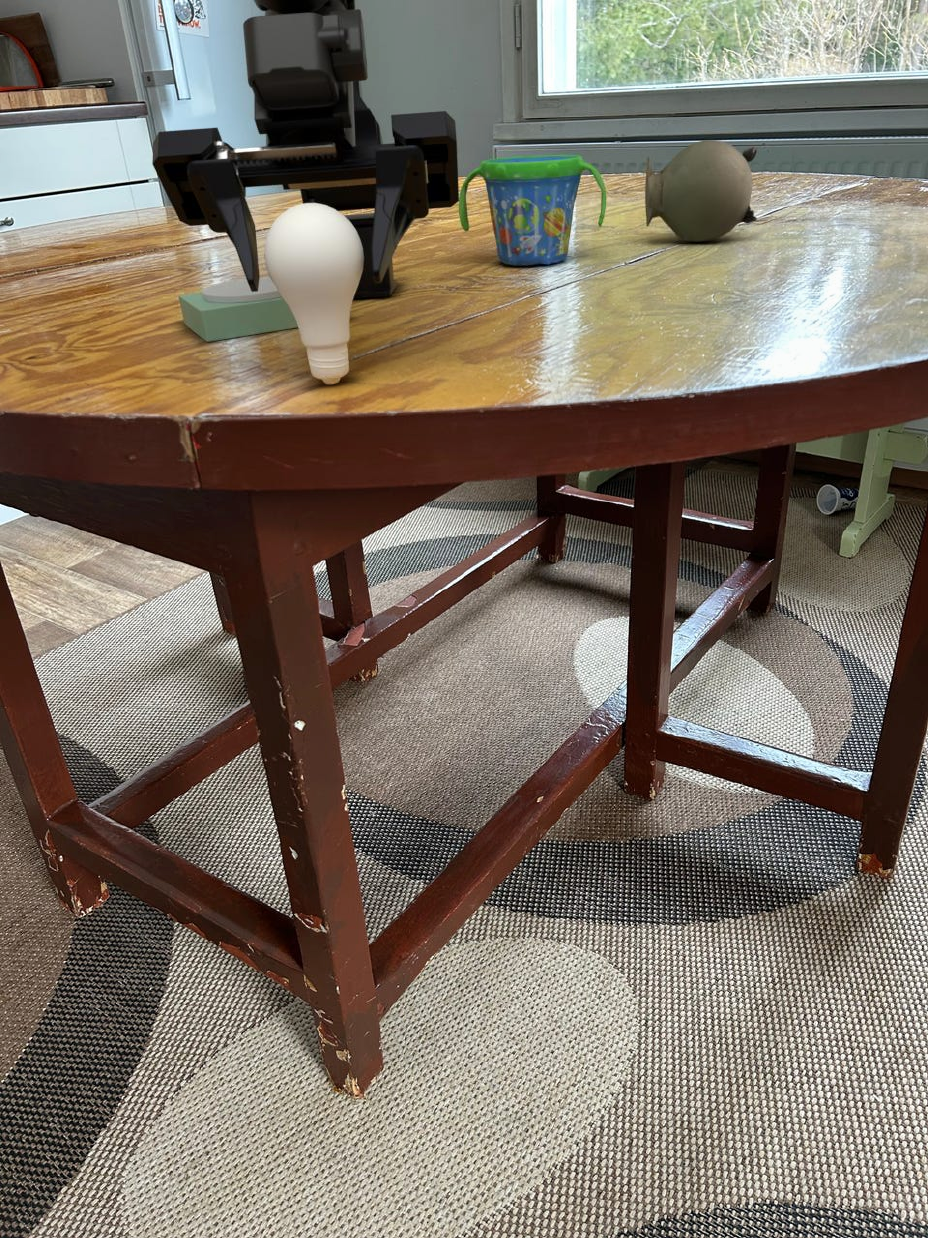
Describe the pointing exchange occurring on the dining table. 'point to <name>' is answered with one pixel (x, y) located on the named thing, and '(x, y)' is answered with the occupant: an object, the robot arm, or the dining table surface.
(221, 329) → the scale
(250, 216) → the robot arm
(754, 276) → the dining table surface
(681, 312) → the dining table surface
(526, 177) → the snack cup
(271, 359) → the dining table surface
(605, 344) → the dining table surface
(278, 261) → the lightbulb
